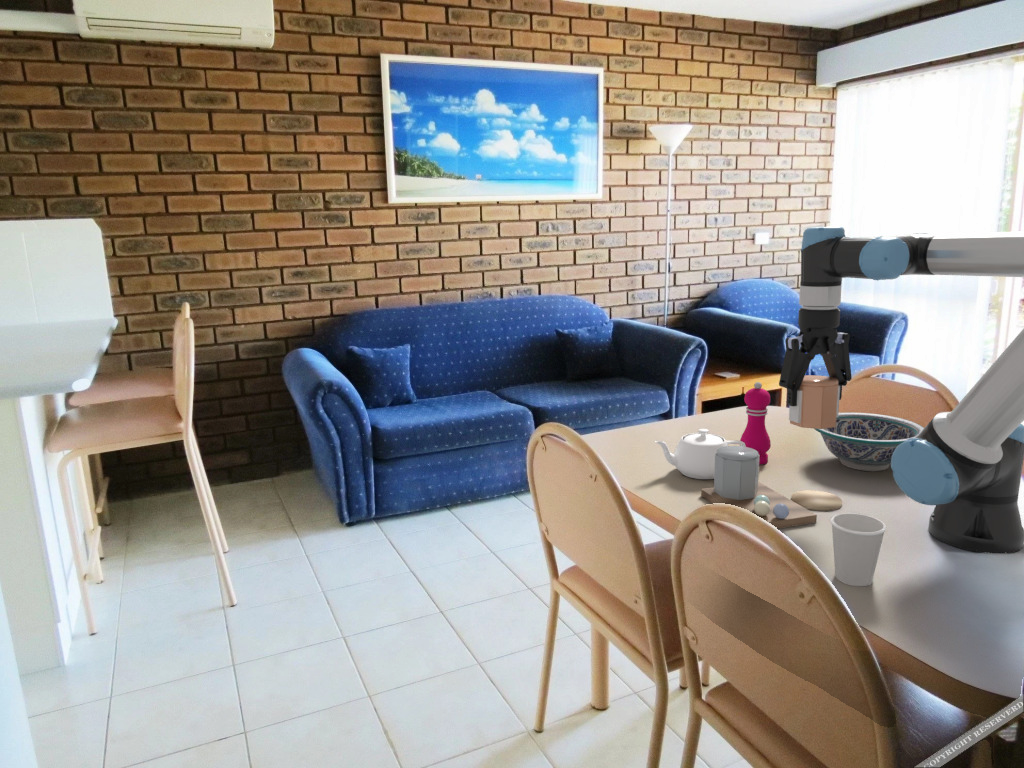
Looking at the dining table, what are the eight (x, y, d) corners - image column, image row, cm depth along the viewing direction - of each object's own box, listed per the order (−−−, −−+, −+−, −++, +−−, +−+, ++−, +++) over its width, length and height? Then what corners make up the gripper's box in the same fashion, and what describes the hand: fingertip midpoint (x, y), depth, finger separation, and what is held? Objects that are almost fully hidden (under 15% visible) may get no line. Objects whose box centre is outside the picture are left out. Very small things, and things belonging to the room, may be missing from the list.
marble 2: (775, 513, 144) (769, 500, 143) (763, 520, 143) (757, 507, 143) (766, 509, 147) (761, 496, 146) (754, 516, 146) (748, 503, 146)
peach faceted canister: (845, 425, 147) (848, 381, 145) (810, 430, 144) (812, 385, 142) (815, 415, 154) (817, 373, 153) (781, 420, 152) (783, 377, 150)
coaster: (852, 507, 152) (853, 504, 152) (811, 513, 149) (811, 510, 149) (820, 490, 161) (820, 487, 161) (781, 496, 159) (781, 493, 159)
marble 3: (791, 510, 144) (792, 518, 142) (776, 516, 146) (778, 523, 143) (783, 498, 144) (785, 505, 141) (769, 504, 145) (770, 511, 142)
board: (816, 522, 145) (816, 514, 145) (754, 532, 142) (754, 524, 141) (757, 487, 164) (757, 481, 164) (700, 495, 160) (701, 489, 160)
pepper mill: (765, 456, 185) (769, 378, 180) (773, 465, 178) (777, 385, 173) (736, 456, 185) (739, 378, 181) (742, 465, 178) (745, 385, 174)
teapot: (733, 461, 182) (735, 419, 179) (755, 480, 169) (757, 435, 166) (646, 466, 180) (646, 424, 178) (661, 486, 167) (662, 440, 165)
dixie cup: (848, 562, 129) (852, 508, 126) (892, 582, 121) (897, 525, 119) (815, 574, 125) (819, 519, 123) (858, 595, 118) (863, 537, 115)
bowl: (837, 484, 165) (840, 443, 163) (792, 449, 189) (794, 414, 187) (946, 480, 165) (951, 439, 163) (887, 446, 190) (890, 410, 188)
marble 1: (774, 508, 147) (770, 495, 146) (762, 514, 147) (758, 501, 146) (765, 503, 150) (761, 490, 149) (752, 509, 149) (749, 496, 149)
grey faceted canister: (764, 496, 155) (766, 455, 153) (729, 501, 153) (730, 460, 151) (741, 482, 163) (743, 444, 161) (707, 487, 161) (709, 448, 159)
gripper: (848, 301, 151) (842, 408, 156) (761, 309, 144) (757, 420, 149) (877, 305, 144) (869, 416, 149) (787, 312, 137) (782, 429, 142)
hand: (813, 418), depth 149 cm, fingers closed on peach faceted canister, 8 cm apart
